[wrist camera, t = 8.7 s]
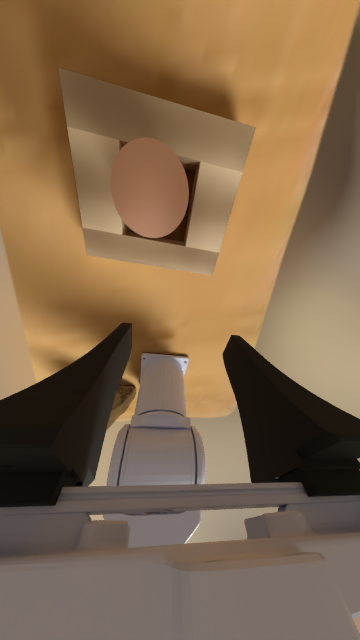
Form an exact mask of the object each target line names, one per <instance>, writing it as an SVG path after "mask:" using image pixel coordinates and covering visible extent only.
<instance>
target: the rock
mask: <svg viewBox="0 0 360 640" xmlns="http://www.w3.org/2000/svg"><path fill="white" fill-rule="evenodd" d="M135 395H136V387H134V386H118V389H117V392H116V395H115V399H114V402H113V406H112V410H111V414H110V418H109V421H108V425H107V429H108V428H109V427H110V426H111V425H112V424H113V423H114V422H115V420H116V419H117V418H118V417H119V416H120V415H121V414H123V413H124V412H125V411H126V410H127V408H128V407H129V404H130V403H131V402H132V400H133V399H134V397H135ZM107 429H106V430H107Z"/></svg>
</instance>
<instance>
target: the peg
mask: <svg viewBox="0 0 360 640" xmlns="http://www.w3.org/2000/svg"><path fill="white" fill-rule="evenodd" d="M110 187H111V194H112V199H113V202H114V205H115V208H116V210H117V212H118V214H119V216H120V217H121V219H122V220H123V221H124V223H125V224H126V225H127V226H128V227H129V228H130V229H131V230H133V231H134V232H136V233H137V234H139V235H142V236H144V237H148V238H159V237H163V236H166V235H168V234H170V233H171V232H173V231H174V230H175V229H176V228H177V227H178V226H179V224H180V223H181V221H182V220H183V218H184V215H185V213H186V210H187V206H188V199H189V188H188V181H187V176H186V173H185V170H184V168H183V165H182V163H181V162H180V160H179V158H178V157H177V155H176V154H175V153H174V152H173V151H172V150H171V148H169V147H168V146H167V145H166V144H164V143H163V142H161V141H159V140H156V139H154V138H148V137H144V138H137V139H134V140H132V141H130V142H129V143H127V144H126V145H125V146H124V147H123V148H122V149H121V150H120V151H119V153H118V154H117V156H116V158H115V160H114V163H113V166H112V170H111V178H110Z"/></svg>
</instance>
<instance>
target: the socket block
mask: <svg viewBox="0 0 360 640" xmlns="http://www.w3.org/2000/svg"><path fill="white" fill-rule="evenodd" d="M58 71H59V77H60V84H61V90H62V97H63V103H64V110H65V116H66V123H67V129H68V136H69V142H70V149H71V155H72V162H73V168H74V175H75V181H76V188H77V194H78V201H79V207H80V214H81V220H82V227H83V233H84V240H85V246H86V253H87V255H89V256H95V257H102V258H108V259H114V260H120V261H126V262H132V263H138V264H144V265H151V266H157V267H163V268H169V269H175V270H181V271H187V272H193V273H199V274H206V275H213V272H214V268H215V265H216V261H217V258H218V254H219V251H220V248H221V244H222V241H223V237H224V234H225V231H226V227H227V224H228V220H229V217H230V214H231V210H232V207H233V203H234V200H235V197H236V193H237V190H238V186H239V183H240V180H241V176H242V173H243V169H244V166H245V163H246V159H247V156H248V152H249V149H250V146H251V142H252V139H253V135H254V132H255V128H256V127H252V126H249V125H246V124H243V123H239V122H236V121H233V120H230V119H226V118H223V117H220V116H216V115H213V114H210V113H207V112H203V111H200V110H197V109H194V108H190V107H187V106H184V105H180V104H177V103H174V102H171V101H167V100H164V99H161V98H158V97H154V96H151V95H148V94H145V93H141V92H138V91H135V90H131V89H128V88H125V87H122V86H118V85H115V84H112V83H109V82H105V81H102V80H99V79H95V78H92V77H89V76H86V75H82V74H79V73H76V72H73V71H69V70H66V69H63V68H60V67H58ZM144 137H148V138H154V139H156V140H159V141H161V142H163V143H164V144H166V145H167V146H168V147H169V148H171V150H172V151H173V152H174V153H175V154H176V155H177V157H178V158H179V160H180V162H181V163H182V165H183V168H184V169H188V170H192V171H195V177H194V183H193V189H192V195H191V201H190V207H189V213H188V219H187V225H186V231H185V237H184V242H182V241H177V240H171V239H166V238H161V237H159V238H148V237H144V236H142V235H139V234H137V233H134V232H130V228H129V227H128V226H127V225H126V224H125V223H124V221H123V220H122V219H121V217H120V216H119V214H118V212H117V210H116V208H115V205H114V202H113V199H112V194H111V187H110V178H111V170H112V166H113V163H114V160H115V158H116V156H117V154H118V153H119V151H120V150H121V149H122V148H123V147H124V146H125V145H126V144H127V143H129V142H130V141H132V140H134V139H137V138H144Z"/></svg>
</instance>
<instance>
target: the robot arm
mask: <svg viewBox="0 0 360 640" xmlns="http://www.w3.org/2000/svg"><path fill="white" fill-rule="evenodd" d="M131 348H132V324H131V323H122V324H120V325H119V326H118V327H117V328H116V329H115V330H114V331H113V332H112V333H111V334H110V335H109V336H108V337H106V338H105V339H104V340H103V341H102V342H101V343H99V344H98V345H97V346H96V347H94V348H93V349H92V350H91V351H89V352H88V353H87V354H85V355H84V356H82V357H81V358H79V359H78V360H76V361H75V362H73V363H72V364H70V365H69V366H67V367H65V368H64V369H62V370H60V371H58V372H57V373H55V374H53V375H51V376H50V377H48V378H46V379H44V380H42V381H40V382H38V383H36V384H34V385H32V386H30V387H28V388H27V389H24V390H22V391H20V392H18V393H15V394H13V395H11V396H9V397H6V398H4V399H2V400H0V640H360V634H359V632H358V629H357V627H356V625H355V623H354V620H353V619H356V618H358V617H360V470H359V469H360V462H359V461H358V460H357V458H360V419H358V418H356V417H354V416H352V415H351V414H349V413H346V412H345V411H343V410H341V409H339V408H337V407H335V406H333V405H332V404H330V403H328V402H327V401H325V400H323V399H321V398H320V397H318V396H316V395H315V394H313V393H311V392H310V391H308V390H307V389H305V388H304V387H302V386H301V385H299V384H298V383H296V382H295V381H293V380H292V379H290V378H289V377H288V376H286V375H285V374H283V373H282V372H281V371H280V370H278V369H277V368H276V367H274V366H273V365H272V364H271V363H270V362H268V361H267V360H266V359H265V358H264V357H263V356H262V355H260V354H259V353H258V352H257V351H256V350H255V349H254V348H253V347H252V346H251V345H249V344H248V343H247V342H246V341H245V340H244V339H243V338H241V337H240V336H237V335H231V337H230V339H229V341H228V343H227V346H226V348H225V350H224V352H223V360H224V365H225V368H226V371H227V374H228V377H229V380H230V383H231V386H232V389H233V392H234V395H235V398H236V401H237V405H238V409H239V413H240V417H241V422H242V427H243V432H244V437H245V443H246V449H247V455H248V462H249V469H250V477H251V482H252V483H242V484H241V483H238V484H204V481H205V454H204V447H203V442H202V438H201V435H200V433H199V432H198V431H197V429H196V428H195V427H194V426H191V425H190V418H189V417H186V404H185V390H184V375H185V371H186V368H187V365H188V361H189V358H188V357H184V356H173V355H162V354H151V353H142V355H141V373H140V388H139V393H138V398H137V404H136V409H135V414H134V415H133V416H132V419H131V424H125V425H124V427H123V428H122V429H121V430H120V431H119V433H118V435H117V438H116V441H115V445H114V449H113V453H112V457H111V462H110V467H109V472H108V478H107V486H91V487H88V486H89V484H91V483H92V481H93V480H94V479H95V476H96V471H97V467H98V462H99V458H100V454H101V449H102V445H103V441H104V437H105V433H106V429H107V425H108V421H109V418H110V414H111V410H112V406H113V402H114V399H115V395H116V392H117V389H118V386H119V384H120V381H121V378H122V376H123V373H124V370H125V368H126V365H127V362H128V360H129V356H130V352H131ZM264 507H279V508H278V512H275V513H266V514H263V515H261V516H257V517H253V518H248V519H245V526H246V531H247V536H248V537H247V539H246V540H232V541H218V542H204V543H190V544H185V543H186V542H187V541H188V539H189V538H190V537H191V536H192V534H193V533H194V531H195V530H196V529H197V527H198V525H199V524H200V522H201V513H202V510H217V509H218V510H219V509H243V508H264ZM101 514H102V515H103V518H104V519H105V520H95V521H91V518H90V517H89V515H101Z"/></svg>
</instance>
